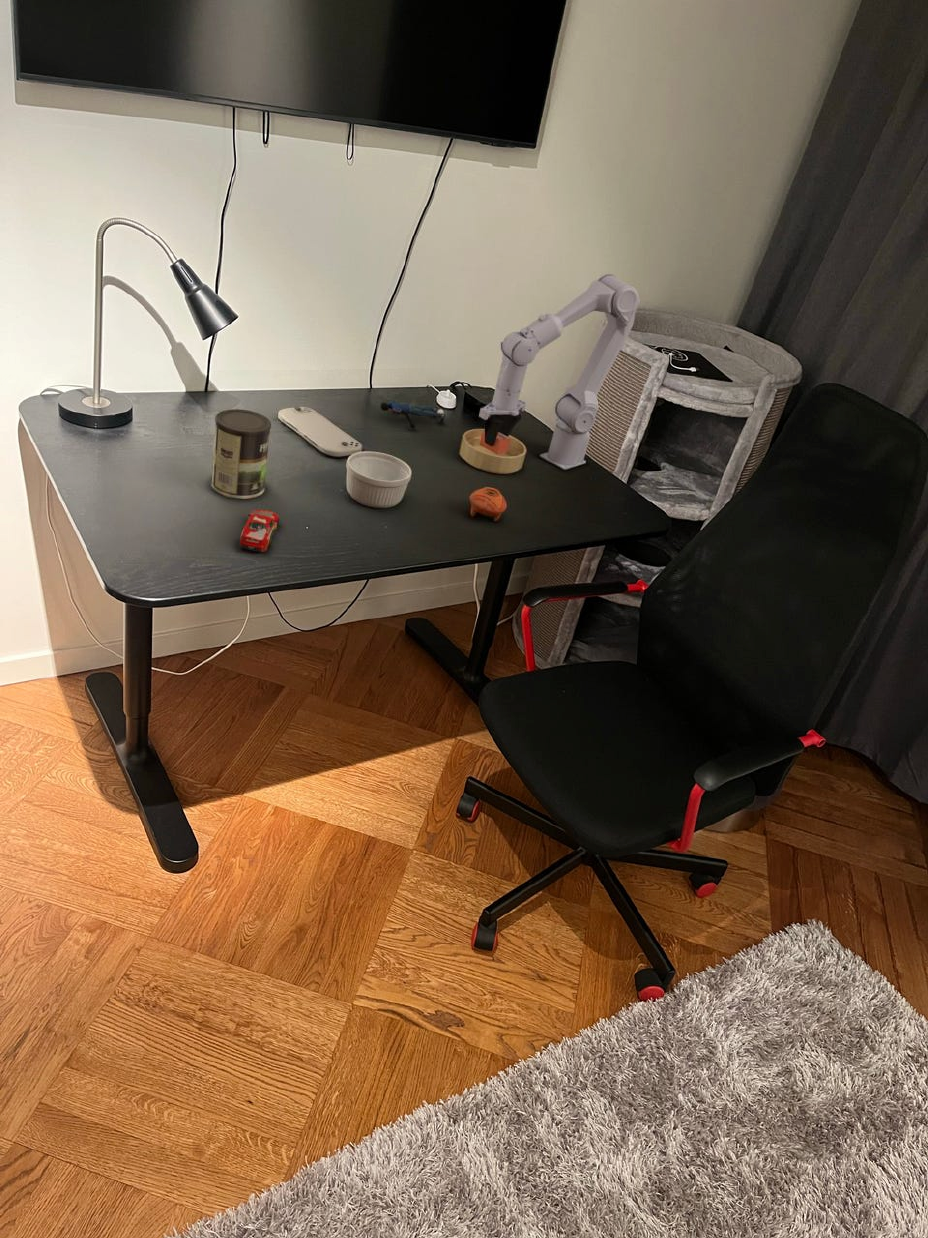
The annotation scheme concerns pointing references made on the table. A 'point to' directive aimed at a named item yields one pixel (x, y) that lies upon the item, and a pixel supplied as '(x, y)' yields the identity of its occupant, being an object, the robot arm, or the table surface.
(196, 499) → the table surface
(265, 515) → the race car
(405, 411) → the person figurine
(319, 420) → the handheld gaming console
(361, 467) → the ramekin
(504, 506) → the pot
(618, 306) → the robot arm
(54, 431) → the table surface
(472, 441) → the bowl
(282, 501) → the table surface
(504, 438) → the orange-red block
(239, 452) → the coffee can
